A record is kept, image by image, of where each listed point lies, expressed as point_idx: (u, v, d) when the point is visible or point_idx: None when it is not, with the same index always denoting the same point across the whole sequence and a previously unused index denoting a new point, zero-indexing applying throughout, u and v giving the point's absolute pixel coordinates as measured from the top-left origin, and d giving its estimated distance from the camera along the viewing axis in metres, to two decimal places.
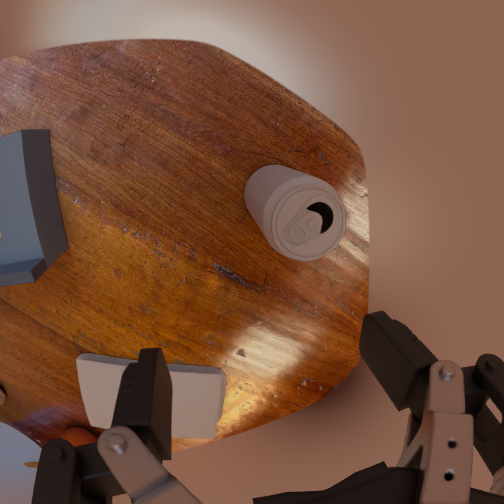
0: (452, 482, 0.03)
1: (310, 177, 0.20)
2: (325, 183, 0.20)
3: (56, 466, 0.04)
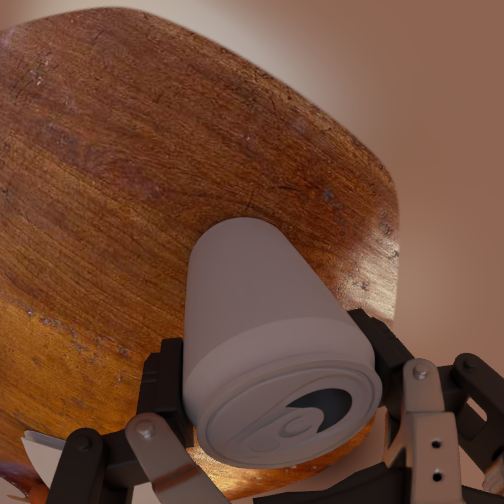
0: (452, 482, 0.03)
1: (303, 319, 0.07)
2: (342, 330, 0.07)
3: (81, 456, 0.05)
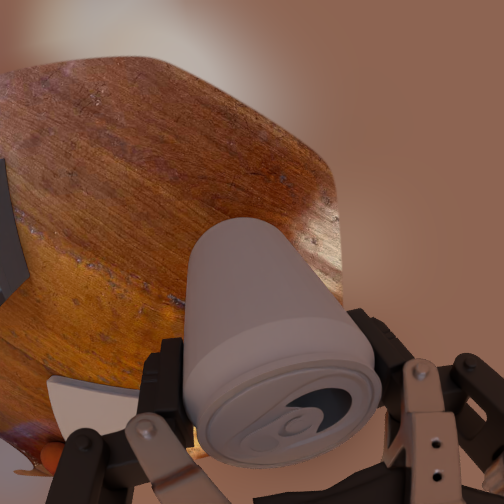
0: (452, 482, 0.03)
1: (302, 319, 0.07)
2: (342, 330, 0.07)
3: (81, 456, 0.05)
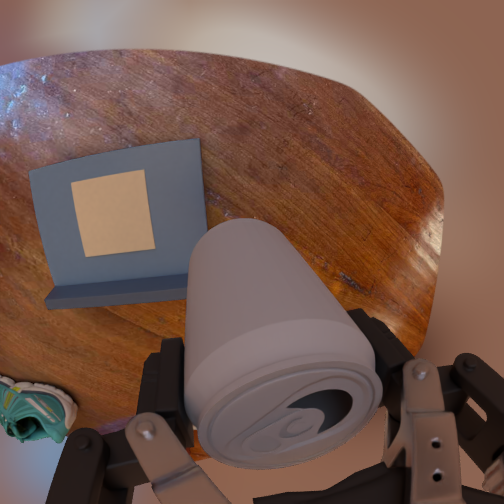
0: (452, 482, 0.03)
1: (304, 321, 0.07)
2: (343, 331, 0.07)
3: (81, 456, 0.05)
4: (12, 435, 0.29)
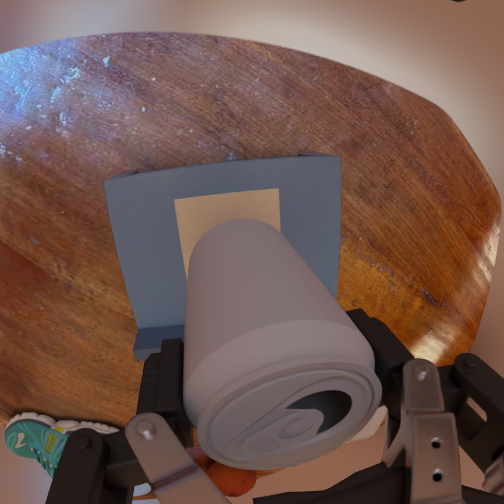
0: (452, 482, 0.03)
1: (303, 322, 0.07)
2: (342, 332, 0.07)
3: (81, 456, 0.05)
4: None
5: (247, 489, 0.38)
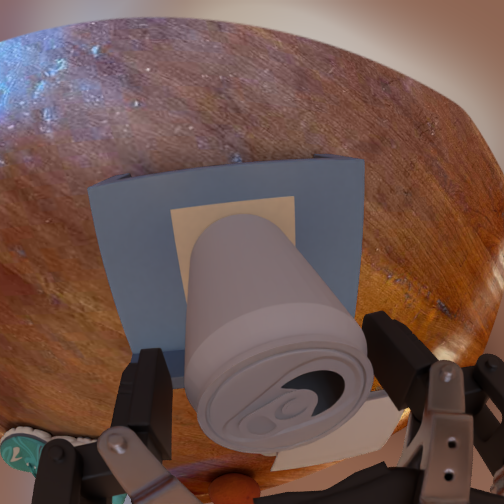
0: (452, 482, 0.03)
1: (296, 305, 0.08)
2: (334, 315, 0.08)
3: (57, 467, 0.04)
4: None
5: None
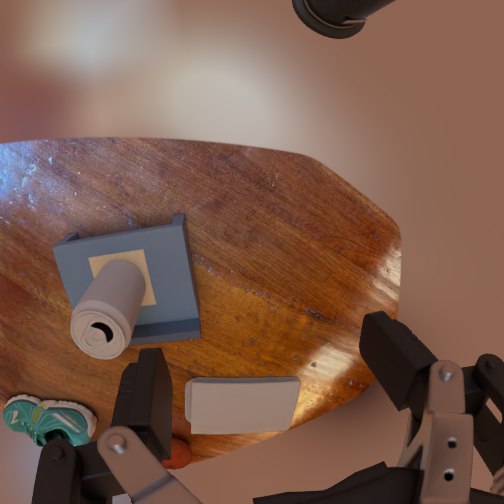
0: (452, 482, 0.03)
1: (94, 300, 0.23)
2: (105, 305, 0.24)
3: (57, 467, 0.04)
4: (41, 445, 0.38)
5: (182, 463, 0.49)
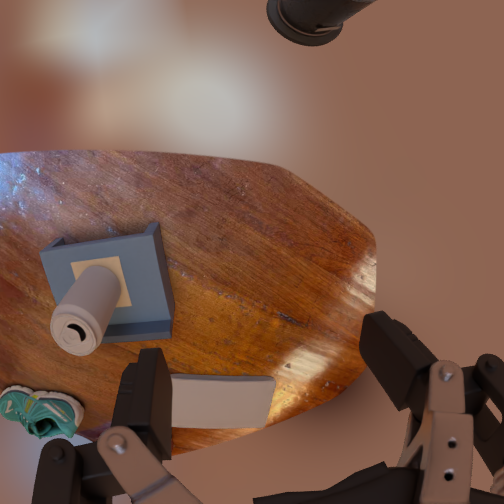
0: (452, 482, 0.03)
1: (69, 304, 0.26)
2: (78, 309, 0.26)
3: (56, 466, 0.04)
4: (32, 433, 0.41)
5: None
